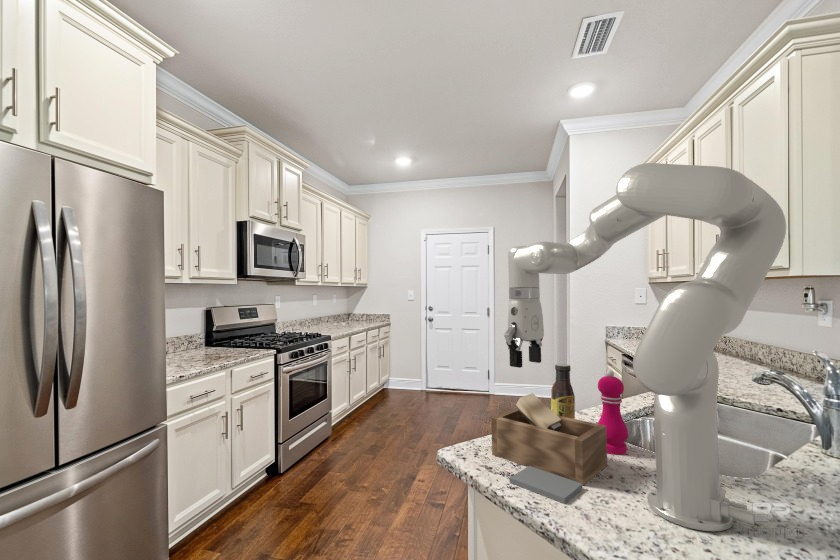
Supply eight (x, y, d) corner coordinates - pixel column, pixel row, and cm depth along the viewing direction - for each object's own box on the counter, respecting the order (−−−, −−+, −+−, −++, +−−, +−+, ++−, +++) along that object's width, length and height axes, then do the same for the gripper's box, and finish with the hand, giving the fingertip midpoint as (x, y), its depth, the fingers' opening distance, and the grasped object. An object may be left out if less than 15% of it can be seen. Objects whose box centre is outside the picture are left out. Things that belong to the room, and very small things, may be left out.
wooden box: (607, 465, 89) (606, 425, 89) (583, 485, 80) (581, 441, 80) (520, 440, 105) (519, 406, 106) (492, 454, 96) (491, 417, 96)
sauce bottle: (560, 442, 103) (557, 367, 104) (546, 434, 109) (544, 363, 110) (580, 439, 105) (578, 365, 106) (566, 432, 111) (564, 362, 112)
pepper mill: (633, 456, 94) (630, 373, 95) (601, 454, 95) (598, 372, 96) (623, 445, 101) (621, 368, 102) (594, 443, 102) (591, 367, 103)
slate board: (582, 488, 78) (582, 483, 78) (564, 503, 73) (564, 498, 73) (529, 470, 87) (529, 465, 87) (509, 482, 81) (509, 477, 82)
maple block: (556, 426, 94) (561, 419, 93) (543, 433, 90) (549, 425, 89) (528, 400, 100) (532, 393, 99) (515, 404, 96) (520, 397, 95)
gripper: (518, 295, 89) (520, 371, 88) (554, 294, 101) (556, 361, 101) (491, 295, 95) (493, 367, 94) (528, 295, 107) (530, 358, 106)
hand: (525, 364), depth 97 cm, fingers open, 8 cm apart
